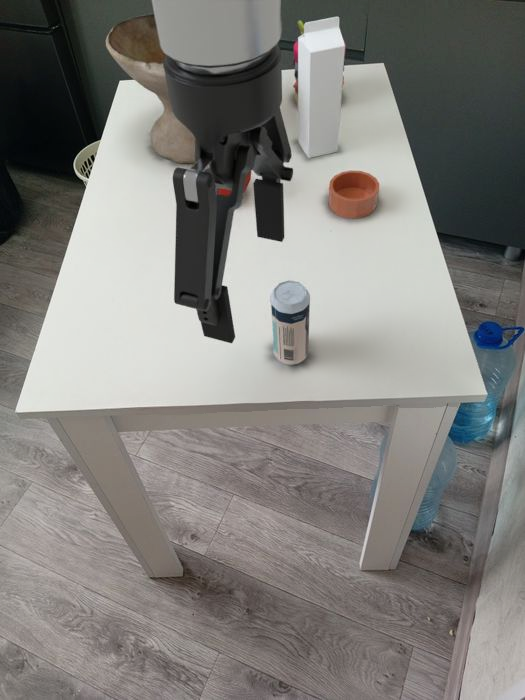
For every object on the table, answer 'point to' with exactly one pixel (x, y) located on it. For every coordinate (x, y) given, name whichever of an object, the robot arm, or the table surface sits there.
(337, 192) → the holder
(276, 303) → the beer can
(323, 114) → the milk
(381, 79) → the table surface
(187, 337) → the table surface
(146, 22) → the bowl
